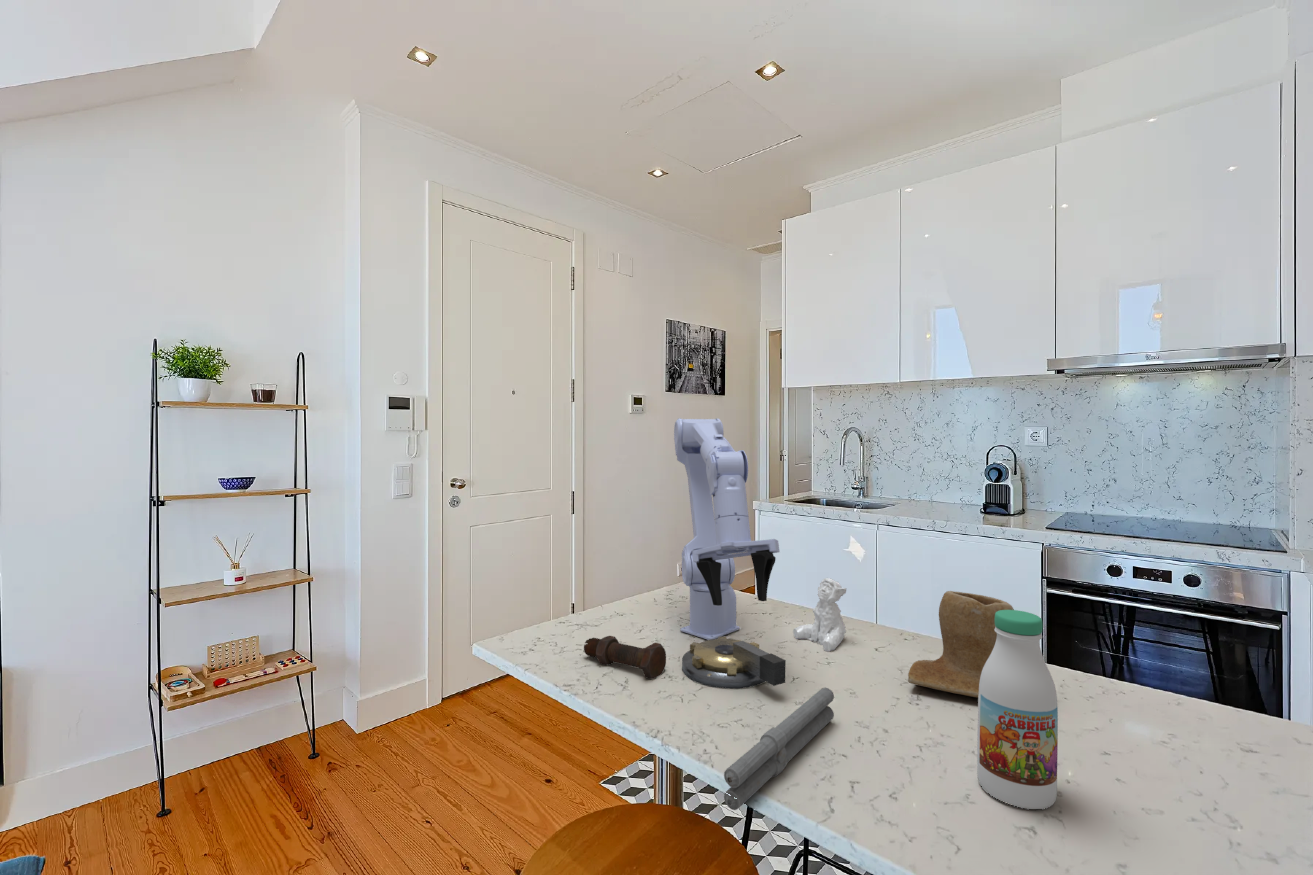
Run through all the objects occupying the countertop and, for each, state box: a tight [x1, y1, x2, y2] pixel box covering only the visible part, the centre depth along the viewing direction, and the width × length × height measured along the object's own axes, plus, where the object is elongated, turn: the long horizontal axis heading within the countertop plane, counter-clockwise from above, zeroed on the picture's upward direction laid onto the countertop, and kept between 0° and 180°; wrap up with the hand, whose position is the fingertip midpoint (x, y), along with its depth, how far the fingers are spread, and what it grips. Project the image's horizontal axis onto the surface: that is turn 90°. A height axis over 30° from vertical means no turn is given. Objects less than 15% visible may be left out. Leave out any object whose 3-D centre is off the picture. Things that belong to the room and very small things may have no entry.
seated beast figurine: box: [792, 577, 847, 652], centre depth 115 cm, size 10×9×12 cm
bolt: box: [583, 635, 667, 680], centre depth 103 cm, size 6×5×15 cm
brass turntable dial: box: [689, 636, 787, 687], centre depth 99 cm, size 19×13×4 cm
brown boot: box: [907, 590, 1015, 699], centre depth 94 cm, size 15×12×15 cm
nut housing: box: [681, 649, 767, 690], centre depth 102 cm, size 15×15×2 cm
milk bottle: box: [976, 609, 1059, 810], centre depth 68 cm, size 8×8×20 cm
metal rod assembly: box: [723, 687, 835, 811], centre depth 74 cm, size 26×3×5 cm, turn 141°
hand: (739, 602), depth 97 cm, fingers open, 7 cm apart
